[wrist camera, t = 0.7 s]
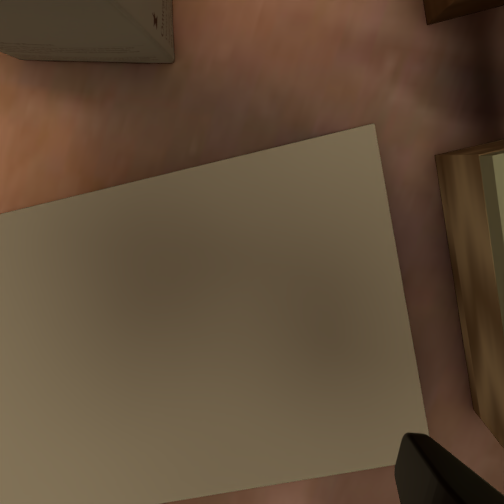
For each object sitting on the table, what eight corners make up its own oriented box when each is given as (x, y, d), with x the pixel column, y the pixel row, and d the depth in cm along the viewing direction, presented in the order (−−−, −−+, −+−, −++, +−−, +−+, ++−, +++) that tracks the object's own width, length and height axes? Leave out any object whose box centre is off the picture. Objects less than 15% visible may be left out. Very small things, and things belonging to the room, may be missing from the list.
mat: (429, 452, 23) (433, 458, 23) (9, 522, 26) (4, 529, 25) (371, 124, 20) (374, 123, 20) (-103, 239, 23) (-111, 241, 22)
